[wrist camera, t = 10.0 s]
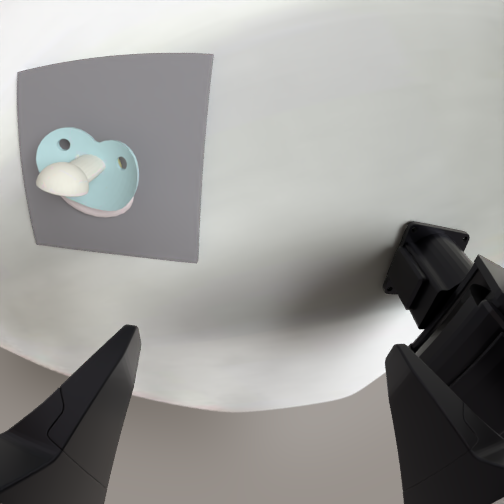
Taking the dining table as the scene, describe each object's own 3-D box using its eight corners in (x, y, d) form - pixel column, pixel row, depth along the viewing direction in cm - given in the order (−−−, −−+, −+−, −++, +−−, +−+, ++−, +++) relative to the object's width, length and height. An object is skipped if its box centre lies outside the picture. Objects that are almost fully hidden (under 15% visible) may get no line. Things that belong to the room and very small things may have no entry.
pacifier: (135, 225, 20) (156, 145, 17) (100, 283, 15) (115, 184, 12) (50, 194, 19) (60, 116, 16) (0, 240, 14) (-2, 145, 11)
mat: (213, 54, 15) (212, 53, 14) (198, 258, 22) (197, 263, 22) (22, 71, 14) (17, 72, 13) (40, 240, 21) (36, 244, 21)
